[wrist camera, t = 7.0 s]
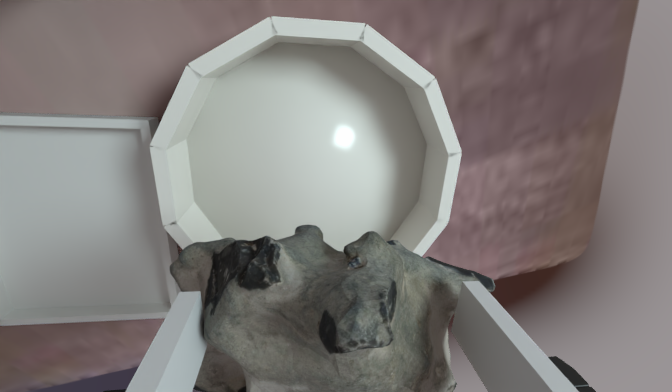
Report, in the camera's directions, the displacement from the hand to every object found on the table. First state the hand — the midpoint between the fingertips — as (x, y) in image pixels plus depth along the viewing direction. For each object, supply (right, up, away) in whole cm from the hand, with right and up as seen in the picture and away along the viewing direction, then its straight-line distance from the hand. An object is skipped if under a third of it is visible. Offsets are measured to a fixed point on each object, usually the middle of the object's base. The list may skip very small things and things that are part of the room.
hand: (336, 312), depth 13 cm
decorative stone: (-1, +1, +4) cm, 4 cm away
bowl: (-3, +8, +20) cm, 22 cm away
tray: (-27, +2, +19) cm, 33 cm away
